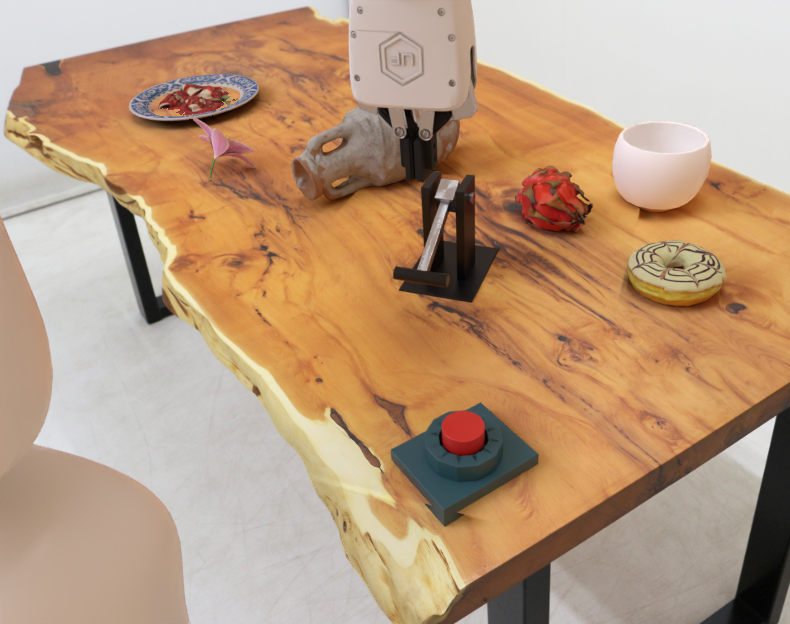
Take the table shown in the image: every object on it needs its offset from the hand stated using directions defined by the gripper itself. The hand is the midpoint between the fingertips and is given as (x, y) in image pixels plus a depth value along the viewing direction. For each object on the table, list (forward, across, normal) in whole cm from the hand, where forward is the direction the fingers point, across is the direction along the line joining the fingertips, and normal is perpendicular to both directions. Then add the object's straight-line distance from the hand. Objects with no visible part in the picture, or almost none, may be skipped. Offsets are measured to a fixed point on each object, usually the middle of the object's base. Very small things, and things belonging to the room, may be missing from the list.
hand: (420, 174), depth 66 cm
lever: (+12, -2, +9) cm, 15 cm away
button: (+16, +9, -16) cm, 24 cm away
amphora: (+20, -19, +38) cm, 46 cm away
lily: (+20, -46, +34) cm, 60 cm away
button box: (+20, +9, -16) cm, 27 cm away
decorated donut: (+20, +24, +18) cm, 36 cm away
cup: (+20, +20, +38) cm, 47 cm away
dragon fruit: (+20, +8, +28) cm, 35 cm away
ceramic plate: (+20, -70, +60) cm, 94 cm away
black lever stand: (+20, -2, +13) cm, 24 cm away
